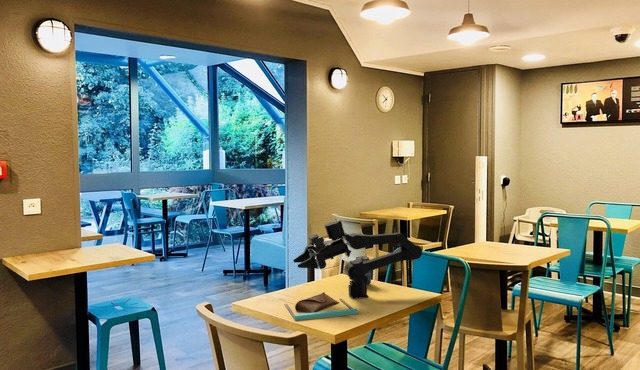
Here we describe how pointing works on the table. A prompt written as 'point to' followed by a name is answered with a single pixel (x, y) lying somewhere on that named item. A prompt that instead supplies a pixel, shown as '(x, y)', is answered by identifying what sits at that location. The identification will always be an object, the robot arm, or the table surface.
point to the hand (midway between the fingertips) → (295, 263)
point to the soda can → (368, 272)
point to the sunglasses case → (315, 303)
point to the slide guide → (324, 313)
